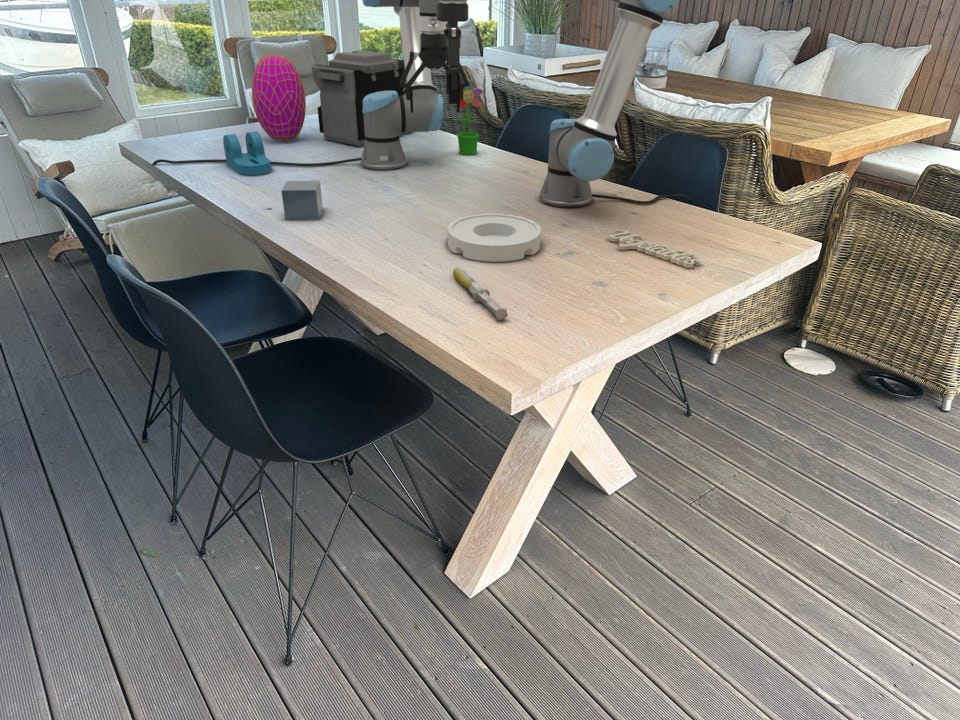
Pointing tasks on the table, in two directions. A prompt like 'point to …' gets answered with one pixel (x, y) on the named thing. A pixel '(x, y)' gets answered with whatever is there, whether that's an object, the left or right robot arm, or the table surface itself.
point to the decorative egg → (278, 97)
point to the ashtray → (494, 237)
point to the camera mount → (246, 154)
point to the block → (302, 200)
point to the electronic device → (353, 91)
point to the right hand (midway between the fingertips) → (453, 98)
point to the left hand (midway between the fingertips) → (435, 111)
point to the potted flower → (468, 138)
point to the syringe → (479, 293)
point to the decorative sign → (653, 249)
